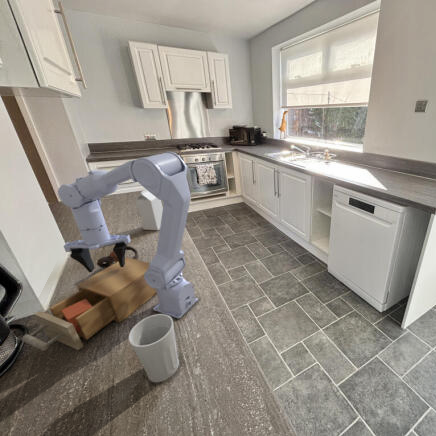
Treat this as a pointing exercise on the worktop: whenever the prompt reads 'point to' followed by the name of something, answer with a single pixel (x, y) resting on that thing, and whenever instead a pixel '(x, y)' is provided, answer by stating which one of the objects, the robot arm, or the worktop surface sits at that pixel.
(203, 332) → the worktop surface
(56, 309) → the drawer
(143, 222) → the milk carton
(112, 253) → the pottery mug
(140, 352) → the cup
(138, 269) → the cabinet
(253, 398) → the worktop surface
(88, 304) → the block
